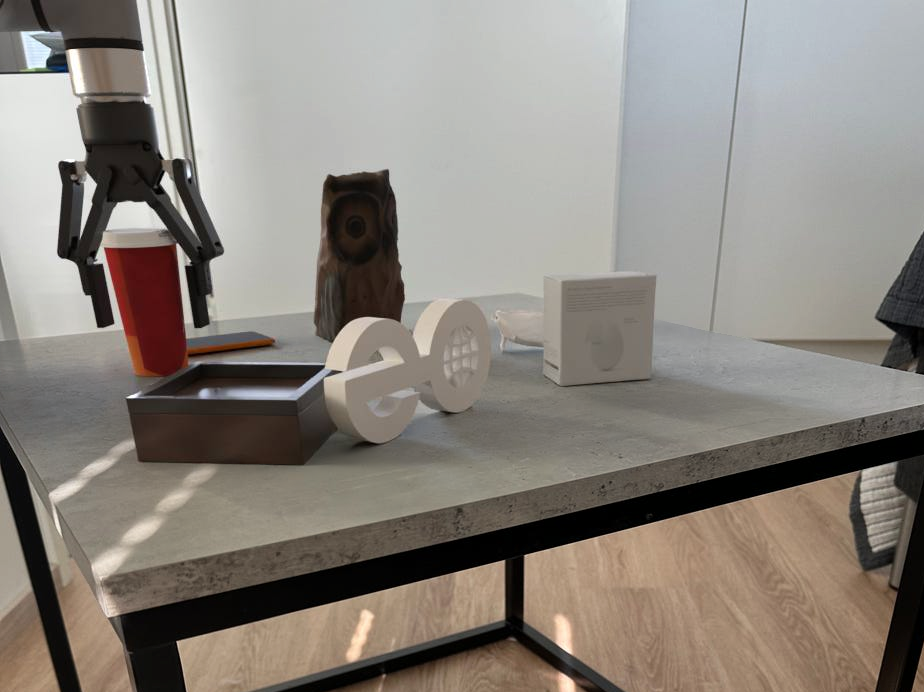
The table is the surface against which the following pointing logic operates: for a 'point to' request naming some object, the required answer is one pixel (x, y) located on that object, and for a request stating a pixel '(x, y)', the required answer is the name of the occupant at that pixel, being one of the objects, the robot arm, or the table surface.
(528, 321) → the pale pink animal figure
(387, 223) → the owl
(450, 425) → the table surface
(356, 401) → the letter
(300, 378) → the dark brown tray
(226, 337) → the smartphone
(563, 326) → the cosmetics box
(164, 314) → the coffee cup
